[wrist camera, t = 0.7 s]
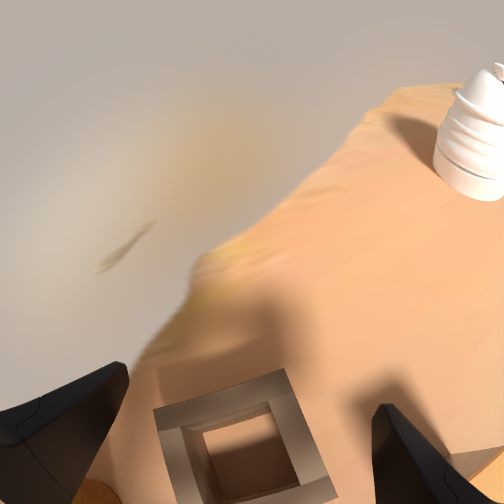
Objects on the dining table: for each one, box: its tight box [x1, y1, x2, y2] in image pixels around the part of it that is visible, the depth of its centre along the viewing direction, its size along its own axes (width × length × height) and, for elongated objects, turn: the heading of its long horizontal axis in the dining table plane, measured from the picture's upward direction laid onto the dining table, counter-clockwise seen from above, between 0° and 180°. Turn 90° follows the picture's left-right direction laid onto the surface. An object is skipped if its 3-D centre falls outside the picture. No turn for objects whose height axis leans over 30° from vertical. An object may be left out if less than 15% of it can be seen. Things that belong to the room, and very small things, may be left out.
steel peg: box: [445, 446, 504, 503], centre depth 10 cm, size 5×5×9 cm
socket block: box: [153, 368, 338, 504], centre depth 17 cm, size 10×10×4 cm
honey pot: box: [433, 63, 504, 201], centre depth 27 cm, size 13×13×18 cm
